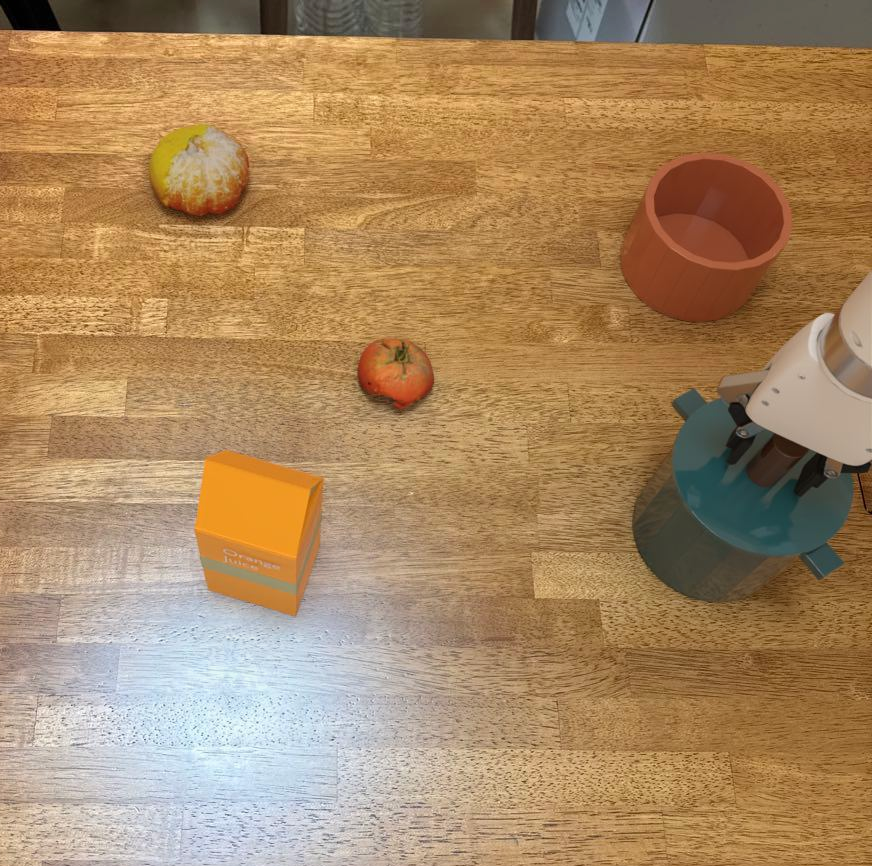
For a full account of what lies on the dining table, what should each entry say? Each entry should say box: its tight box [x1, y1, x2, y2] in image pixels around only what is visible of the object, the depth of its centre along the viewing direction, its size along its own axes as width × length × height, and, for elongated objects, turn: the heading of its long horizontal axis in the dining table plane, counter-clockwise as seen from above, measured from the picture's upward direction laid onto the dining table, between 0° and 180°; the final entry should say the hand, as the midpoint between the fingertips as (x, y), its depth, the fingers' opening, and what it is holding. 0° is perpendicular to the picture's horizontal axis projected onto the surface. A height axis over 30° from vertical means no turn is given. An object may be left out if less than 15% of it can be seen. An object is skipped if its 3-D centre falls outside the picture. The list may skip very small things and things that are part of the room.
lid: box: [671, 394, 855, 558], centre depth 86 cm, size 16×16×7 cm
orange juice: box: [193, 449, 324, 617], centre depth 88 cm, size 8×9×20 cm
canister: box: [619, 151, 794, 323], centre depth 108 cm, size 15×15×9 cm
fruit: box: [147, 123, 250, 217], centre depth 112 cm, size 11×10×8 cm
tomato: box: [357, 337, 435, 411], centre depth 104 cm, size 8×7×7 cm
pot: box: [632, 387, 845, 603], centre depth 94 cm, size 15×20×12 cm
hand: (769, 465), depth 87 cm, fingers open, 5 cm apart
